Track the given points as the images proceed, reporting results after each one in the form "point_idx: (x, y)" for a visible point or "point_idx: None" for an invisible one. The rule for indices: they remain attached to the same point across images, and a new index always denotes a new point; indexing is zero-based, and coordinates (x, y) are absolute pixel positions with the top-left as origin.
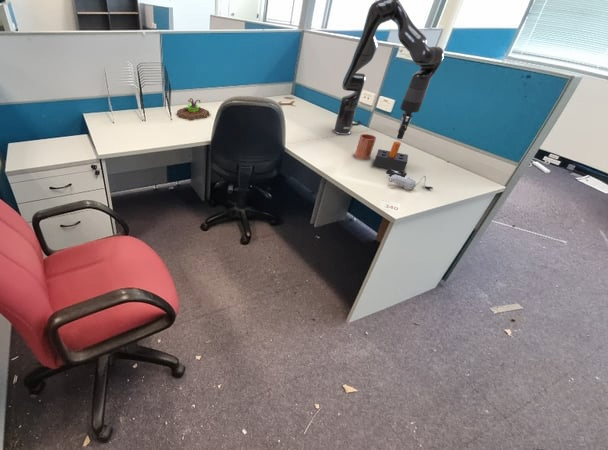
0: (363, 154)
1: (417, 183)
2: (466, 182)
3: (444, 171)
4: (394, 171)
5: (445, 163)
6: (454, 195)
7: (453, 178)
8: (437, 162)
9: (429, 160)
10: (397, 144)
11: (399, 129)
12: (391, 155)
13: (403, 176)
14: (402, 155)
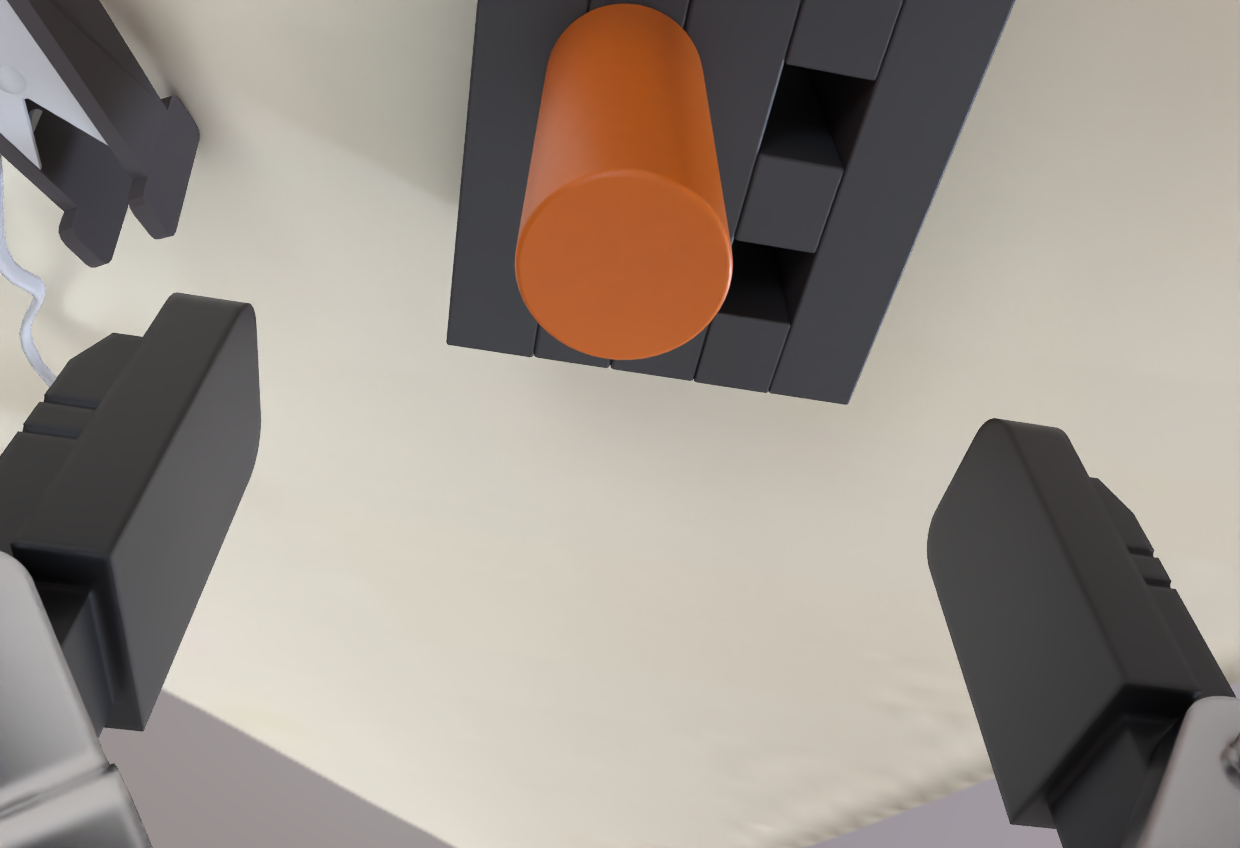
0: None
1: (32, 363)
2: (542, 766)
3: (767, 670)
4: (2, 51)
5: None
6: None
7: (596, 702)
8: None
9: None
10: (517, 258)
11: (1027, 515)
12: (550, 61)
13: (88, 202)
14: (795, 306)
